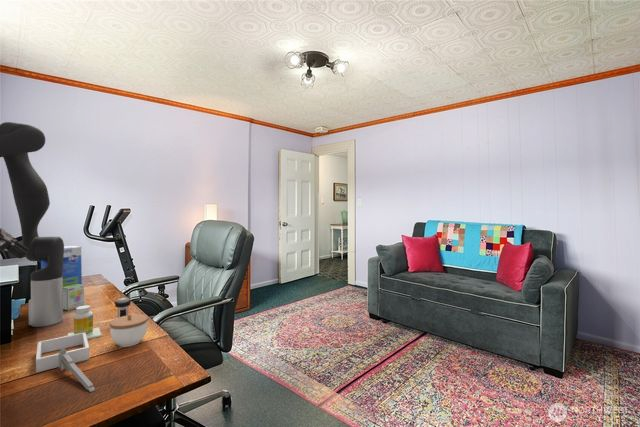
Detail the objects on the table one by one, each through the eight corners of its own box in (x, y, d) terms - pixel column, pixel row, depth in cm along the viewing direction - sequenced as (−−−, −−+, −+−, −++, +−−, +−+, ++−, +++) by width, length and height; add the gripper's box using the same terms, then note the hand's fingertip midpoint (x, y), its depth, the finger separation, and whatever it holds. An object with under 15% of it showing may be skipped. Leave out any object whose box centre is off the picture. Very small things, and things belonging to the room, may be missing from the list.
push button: (110, 329, 114) (110, 302, 114) (110, 325, 118) (110, 298, 118) (131, 325, 118) (131, 299, 117) (130, 321, 122) (130, 296, 122)
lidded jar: (108, 342, 104) (107, 314, 103) (144, 333, 110) (144, 307, 110) (112, 353, 95) (111, 323, 95) (151, 343, 102) (151, 315, 102)
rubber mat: (68, 343, 102) (68, 342, 102) (67, 334, 109) (67, 333, 109) (101, 336, 108) (101, 334, 108) (98, 328, 115) (98, 327, 115)
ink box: (68, 311, 134) (67, 280, 133) (61, 310, 135) (61, 279, 135) (84, 306, 140) (84, 276, 140) (78, 305, 141) (78, 276, 141)
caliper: (58, 369, 87) (57, 347, 86) (62, 367, 87) (62, 345, 87) (90, 393, 76) (90, 367, 75) (95, 391, 76) (95, 365, 76)
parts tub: (36, 372, 84) (35, 359, 84) (38, 353, 95) (38, 341, 95) (89, 359, 92) (89, 347, 92) (85, 342, 103) (85, 332, 103)
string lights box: (74, 297, 153) (73, 245, 153) (82, 299, 150) (82, 246, 149) (40, 305, 141) (39, 248, 141) (49, 307, 138) (48, 249, 137)
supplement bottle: (76, 332, 109) (75, 305, 109) (94, 330, 112) (94, 303, 112) (71, 338, 105) (71, 310, 104) (91, 335, 107) (91, 308, 107)
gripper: (-24, 207, 82) (36, 247, 89) (-15, 207, 93) (38, 242, 100) (-55, 228, 78) (10, 267, 86) (-42, 225, 89) (15, 260, 97)
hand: (25, 254), depth 93 cm, fingers open, 8 cm apart
